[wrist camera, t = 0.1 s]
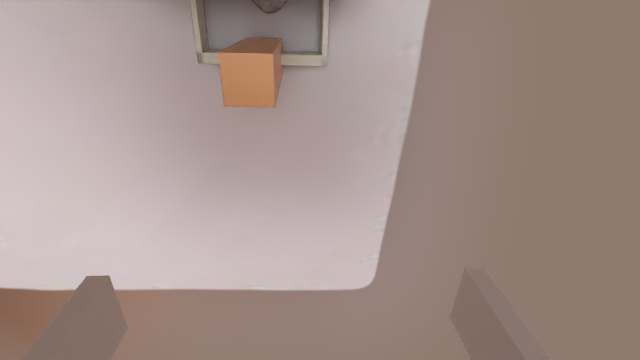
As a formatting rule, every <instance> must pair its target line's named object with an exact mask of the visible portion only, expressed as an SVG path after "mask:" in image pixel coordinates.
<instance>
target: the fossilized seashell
mask: <svg viewBox="0 0 640 360" xmlns="http://www.w3.org/2000/svg"><path fill="white" fill-rule="evenodd" d="M253 1H254V2H255V3H256V4H257V5H258V6H259V7H260V8H261V9H262V10H263V11H264V12H266V13H269V14H270V13H275V12H277V11H278V10H280V9H281V7H282V6H283V5H284V3H285V2H287V1H289V0H253Z"/></svg>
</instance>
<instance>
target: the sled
mask: <svg viewBox="0 0 640 360" xmlns="http://www.w3.org/2000/svg"><path fill="white" fill-rule="evenodd" d="M190 6H191V13H192V20H193V28H194V35H195V43H196V50H197V58H198V63H202V64H220V74H221V83H222V93H223V102H224V106H232V107H275V104H276V100H277V96H278V91H279V87H280V83H281V79H282V75H283V70H282V65H291V66H327V46H328V20H329V0H322V16H321V51H320V53H314V52H282V39H278V38H245V39H244V40H242V41H240V42H238V43H236V44H234V45H232V46H230V47H228V48H226V49H224V50H208V41H207V33H206V25H205V16H204V8H203V0H190Z"/></svg>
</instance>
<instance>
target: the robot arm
mask: <svg viewBox="0 0 640 360" xmlns="http://www.w3.org/2000/svg"><path fill="white" fill-rule="evenodd" d="M450 319H451V321H452V323H453V325H454V327H455V329H456V331H457V333H458V335H459V337H460V339H461V341H462V342H463V345H464V347H465V349H466V351H467V353H468V355H469V357H470V359H471V360H552V359H551V358H550V356H549V355H548V354H547V352H546V351H545V350H544V348H543V347H542V345H541V344H540V343H539V341H538V340H537V339H536V337H535V336H534V335H533V333H532V332H531V330H530V329H529V328H528V326H527V325H526V324H525V322H524V321H523V320H522V318H521V317H520V316H519V314H518V313H517V311H516V310H515V309H514V307H513V306H512V305H511V303H510V302H509V300H508V299H507V298H506V296H505V295H504V294H503V292H502V291H501V290H500V288H499V287H498V286H497V284H496V283H495V281H494V280H493V279H492V277H491V276H490V275H489V273H488V272H487V271H486V269H485V268H484V267H469V268H465V269H464V272H463V275H462V279H461V282H460V285H459V289H458V292H457V295H456V299H455V302H454V305H453V308H452V312H451V315H450ZM127 329H128V327H127V324H126V321H125V318H124V316H123V313H122V310H121V307H120V304H119V302H118V299H117V296H116V293H115V290H114V288H113V285H112V282H111V279H110V276H87V277H86V278H85V279H84V280H83V282H82V283H81V284H80V285H79V287H78V288H77V289H76V290H75V292H74V293H73V294H72V295H71V297H70V298H69V299H68V300H67V302H66V303H65V304H64V305H63V307H62V308H61V309H60V310H59V312H58V313H57V314H56V315H55V317H54V318H53V319H52V320H51V322H50V323H49V324H48V325H47V327H46V328H45V329H44V330H43V332H42V333H41V334H40V336H39V337H38V338H37V339H36V341H35V342H34V343H33V344H32V346H31V347H30V348H29V349H28V350H27V352H26V353H25V354H24V355H23V357H22V358H21V359H20V360H111V359H112V357H113V355H114V353H115V351H116V350H117V348H118V346H119V344H120V342H121V340H122V338H123V337H124V335H125V333H126V331H127Z"/></svg>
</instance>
